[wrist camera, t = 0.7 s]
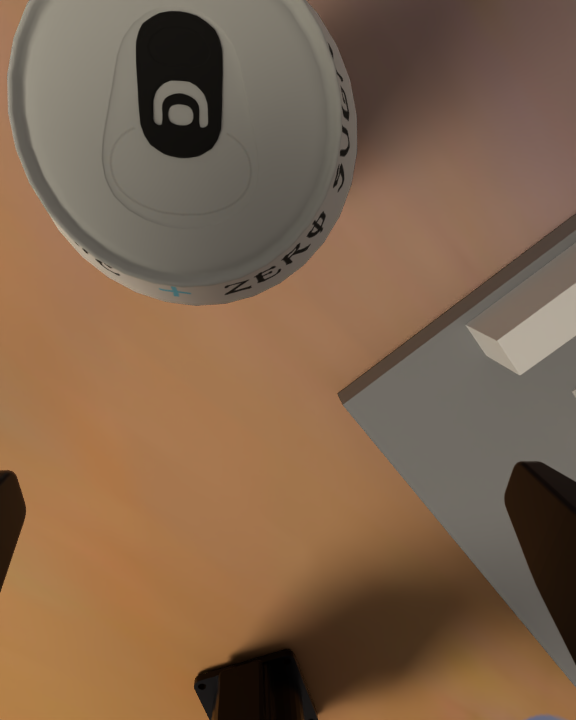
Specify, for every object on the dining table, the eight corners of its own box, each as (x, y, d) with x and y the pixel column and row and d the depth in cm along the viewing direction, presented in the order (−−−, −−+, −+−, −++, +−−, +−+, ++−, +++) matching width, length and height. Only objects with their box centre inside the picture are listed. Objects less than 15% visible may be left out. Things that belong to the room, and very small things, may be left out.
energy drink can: (162, 251, 22) (-8, 319, 7) (157, 107, 20) (-77, -166, 6) (291, 256, 22) (363, 329, 8) (297, 116, 20) (404, -112, 6)
